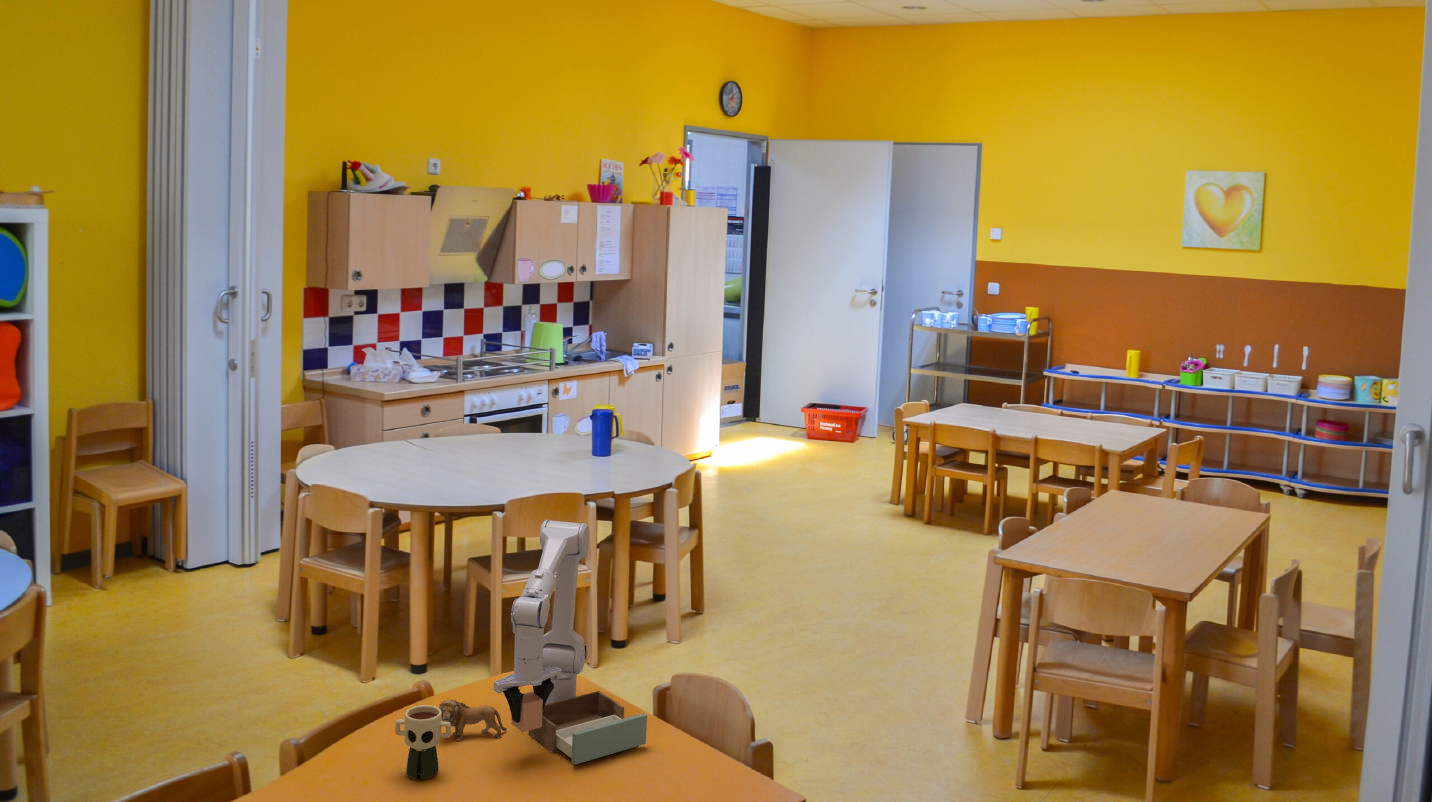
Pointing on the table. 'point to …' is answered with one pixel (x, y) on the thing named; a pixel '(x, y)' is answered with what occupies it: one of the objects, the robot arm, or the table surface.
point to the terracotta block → (530, 713)
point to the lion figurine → (469, 717)
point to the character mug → (422, 739)
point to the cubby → (573, 715)
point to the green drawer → (601, 737)
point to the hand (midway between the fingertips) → (526, 717)
